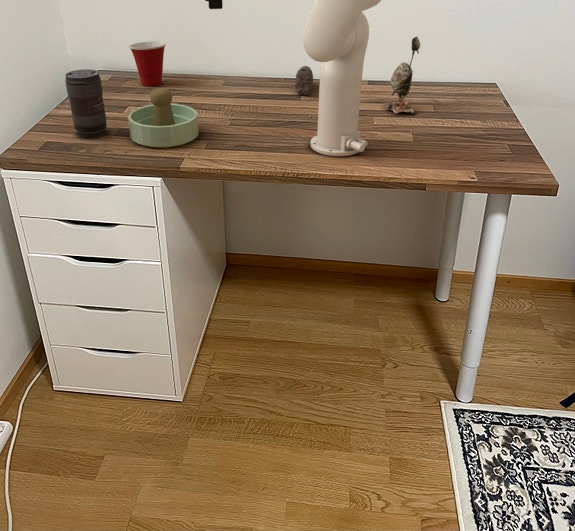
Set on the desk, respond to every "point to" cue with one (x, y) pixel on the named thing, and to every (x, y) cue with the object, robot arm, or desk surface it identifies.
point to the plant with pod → (403, 83)
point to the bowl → (163, 127)
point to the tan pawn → (162, 107)
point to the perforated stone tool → (304, 80)
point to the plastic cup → (149, 61)
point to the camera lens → (86, 102)
